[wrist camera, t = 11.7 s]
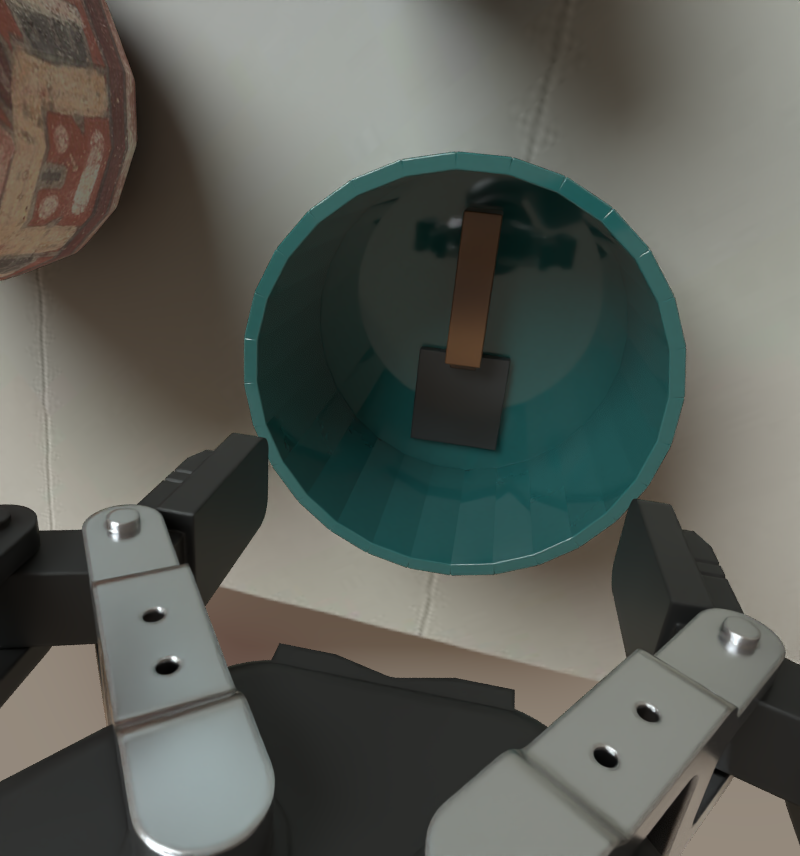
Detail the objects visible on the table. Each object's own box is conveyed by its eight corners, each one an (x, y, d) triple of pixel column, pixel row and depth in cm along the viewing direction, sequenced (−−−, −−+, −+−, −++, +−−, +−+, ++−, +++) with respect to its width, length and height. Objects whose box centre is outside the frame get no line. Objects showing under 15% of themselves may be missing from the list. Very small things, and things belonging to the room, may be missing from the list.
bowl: (321, 138, 33) (243, 130, 23) (674, 173, 31) (746, 180, 22) (308, 448, 40) (243, 540, 30) (598, 493, 38) (626, 606, 28)
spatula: (437, 203, 33) (431, 206, 30) (534, 214, 32) (536, 218, 30) (411, 433, 37) (405, 451, 35) (495, 446, 37) (494, 464, 35)
